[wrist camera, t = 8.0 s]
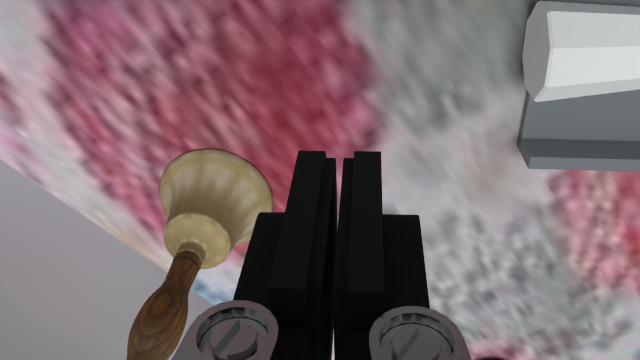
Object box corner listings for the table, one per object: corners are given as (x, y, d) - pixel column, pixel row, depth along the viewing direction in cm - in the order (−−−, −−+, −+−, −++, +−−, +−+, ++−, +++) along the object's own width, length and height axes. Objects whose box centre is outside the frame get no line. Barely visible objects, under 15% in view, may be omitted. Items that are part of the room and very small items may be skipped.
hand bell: (136, 183, 41) (18, 358, 27) (223, 127, 38) (139, 292, 24) (210, 259, 44) (138, 450, 30) (295, 213, 41) (258, 402, 27)
